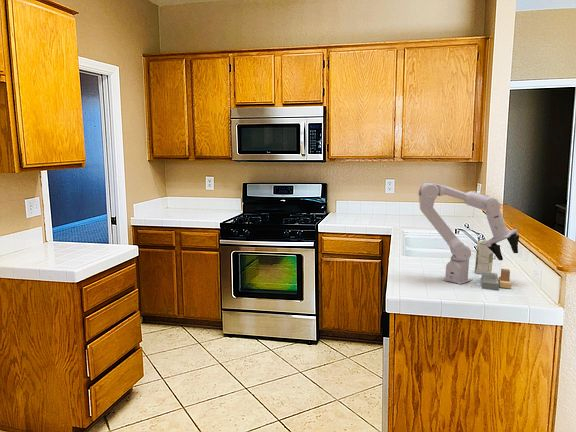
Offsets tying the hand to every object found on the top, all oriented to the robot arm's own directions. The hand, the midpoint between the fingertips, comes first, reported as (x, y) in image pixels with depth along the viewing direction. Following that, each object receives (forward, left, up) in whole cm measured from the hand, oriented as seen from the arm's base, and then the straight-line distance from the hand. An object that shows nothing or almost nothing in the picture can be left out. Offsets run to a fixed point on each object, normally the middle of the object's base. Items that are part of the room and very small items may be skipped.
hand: (508, 256), depth 192 cm
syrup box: (+8, +14, -11) cm, 20 cm away
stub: (-5, -1, -11) cm, 12 cm away
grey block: (-7, +3, -11) cm, 14 cm away
